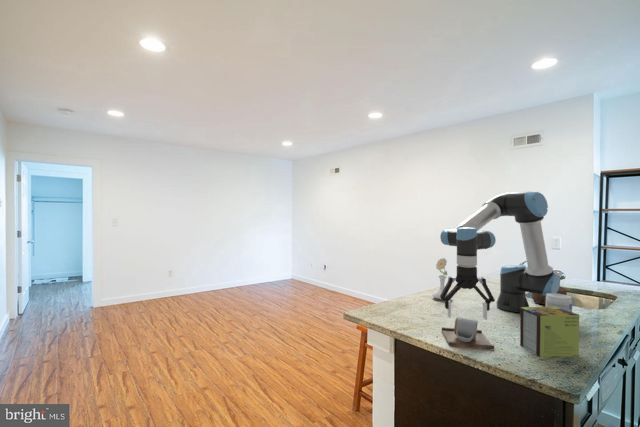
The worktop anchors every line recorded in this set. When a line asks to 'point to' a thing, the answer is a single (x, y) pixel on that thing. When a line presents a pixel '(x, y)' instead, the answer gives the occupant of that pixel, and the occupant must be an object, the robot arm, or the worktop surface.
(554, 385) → the worktop surface
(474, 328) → the ceramic mug
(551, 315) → the protein box
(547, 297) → the supplement tub
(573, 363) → the worktop surface
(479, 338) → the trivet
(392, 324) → the worktop surface
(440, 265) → the flower in vase
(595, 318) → the worktop surface
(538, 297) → the bread
